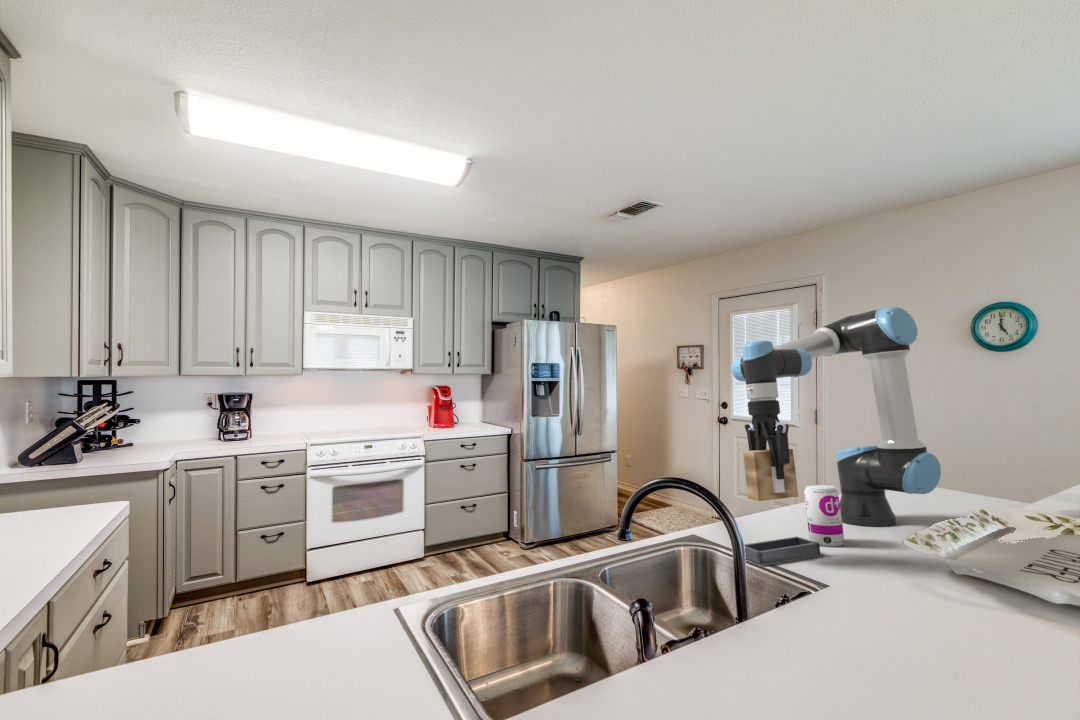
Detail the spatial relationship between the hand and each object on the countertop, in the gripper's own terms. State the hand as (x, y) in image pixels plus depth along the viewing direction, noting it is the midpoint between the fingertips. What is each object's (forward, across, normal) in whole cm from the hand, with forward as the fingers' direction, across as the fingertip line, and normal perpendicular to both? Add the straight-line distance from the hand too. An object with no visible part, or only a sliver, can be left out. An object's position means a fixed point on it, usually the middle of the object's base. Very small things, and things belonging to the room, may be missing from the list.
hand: (772, 490), depth 122 cm
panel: (+2, 0, 0) cm, 2 cm away
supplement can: (+16, -4, +19) cm, 26 cm away
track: (+16, 0, 0) cm, 16 cm away
